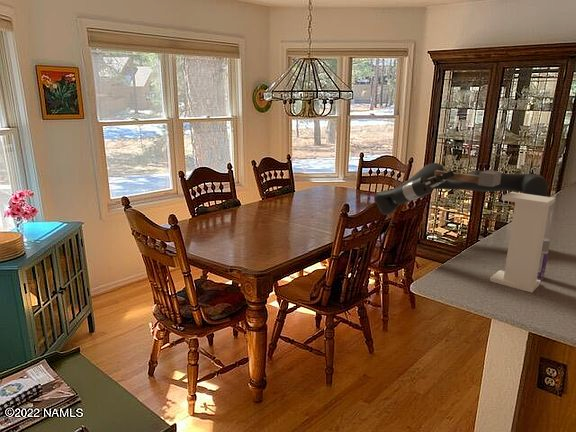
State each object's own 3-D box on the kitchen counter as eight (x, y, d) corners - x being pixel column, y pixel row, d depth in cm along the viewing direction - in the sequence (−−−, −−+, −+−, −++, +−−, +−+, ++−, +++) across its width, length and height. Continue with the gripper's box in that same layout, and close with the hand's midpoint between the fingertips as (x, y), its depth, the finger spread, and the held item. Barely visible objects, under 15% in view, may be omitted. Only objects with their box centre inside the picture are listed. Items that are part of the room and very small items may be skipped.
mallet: (430, 178, 166) (431, 166, 165) (439, 175, 172) (440, 164, 171) (492, 187, 151) (494, 174, 150) (499, 184, 157) (501, 171, 156)
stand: (489, 281, 157) (502, 195, 149) (499, 273, 164) (511, 191, 156) (532, 292, 148) (547, 202, 139) (539, 284, 155) (555, 197, 146)
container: (538, 274, 163) (545, 237, 159) (546, 279, 159) (553, 241, 155) (526, 274, 163) (533, 237, 159) (534, 279, 159) (540, 241, 155)
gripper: (404, 182, 171) (443, 165, 159) (421, 178, 181) (458, 161, 169) (412, 200, 170) (451, 183, 158) (428, 194, 180) (466, 179, 168)
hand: (454, 172), depth 164 cm, fingers closed on mallet, 2 cm apart
